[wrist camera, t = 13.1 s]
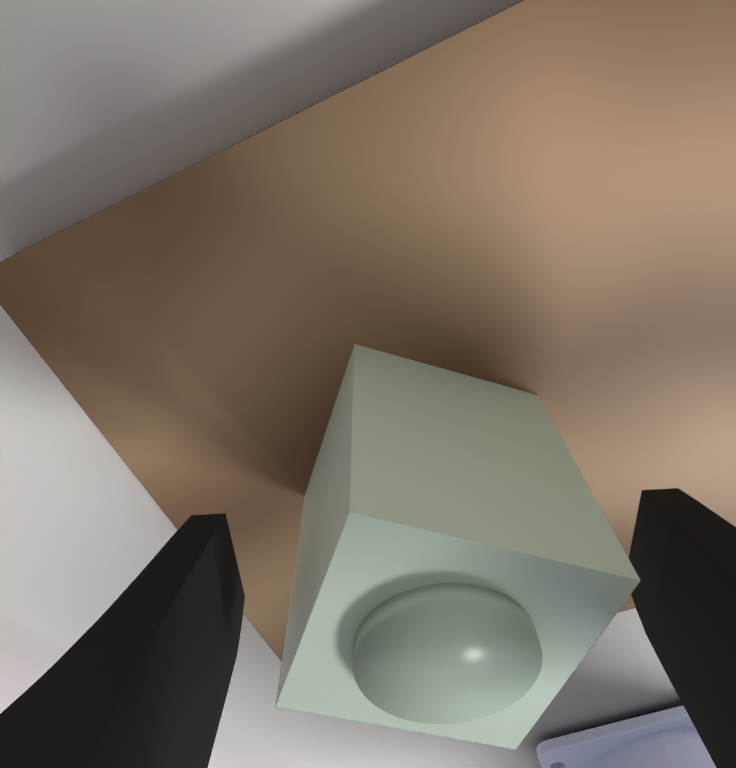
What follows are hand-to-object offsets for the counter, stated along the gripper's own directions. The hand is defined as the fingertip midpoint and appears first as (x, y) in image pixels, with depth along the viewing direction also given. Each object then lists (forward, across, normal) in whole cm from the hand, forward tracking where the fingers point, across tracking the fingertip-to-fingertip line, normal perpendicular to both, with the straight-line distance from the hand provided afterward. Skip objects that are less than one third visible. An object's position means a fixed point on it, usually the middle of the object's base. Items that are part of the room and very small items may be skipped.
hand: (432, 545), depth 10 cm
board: (+4, -4, -2) cm, 6 cm away
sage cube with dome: (+3, 0, 0) cm, 3 cm away
